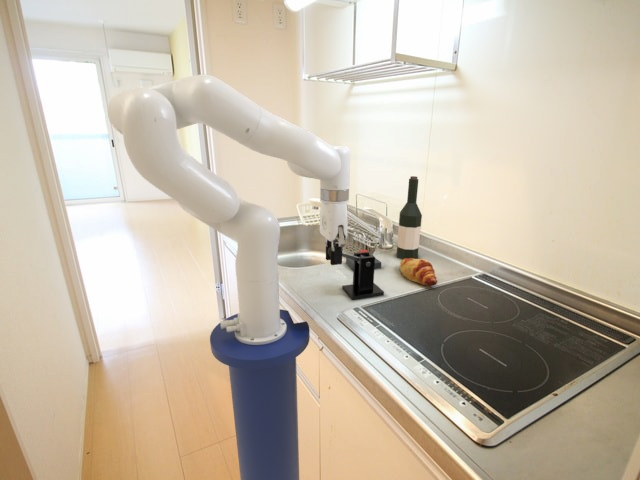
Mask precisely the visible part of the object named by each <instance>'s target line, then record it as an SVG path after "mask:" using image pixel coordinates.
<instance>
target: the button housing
mask: <svg viewBox="0 0 640 480" xmlns="http://www.w3.org/2000/svg"><path fill="white" fill-rule="evenodd" d="M369 256H374V254H373V253H371V252H369ZM345 263H346V265H347V266H348V267H349V268H350V269H351V270H352V271H353V268H354V260H353V259H349V258H346V257H345ZM378 269H382V261H381V260H379V259H377V257H375V266H374V270H378Z"/></svg>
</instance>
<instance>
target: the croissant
mask: <svg viewBox="0 0 640 480" xmlns="http://www.w3.org/2000/svg"><path fill="white" fill-rule="evenodd" d="M399 271H400V272H401V276H402V277H404V278H406V279H407V280H409V281H412V282H414V283H418V284H420V285H423V286H427V287H432V286H436V285H437V284H438V279H437V276H436V273H435V269H434V268H433V264H432V263H431V262H430V261H429V260H426V259H423V258H422V259H421V258H417V259H413V258H409V259H407V258H406V259H401V260H400V264H399Z"/></svg>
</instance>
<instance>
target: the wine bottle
mask: <svg viewBox="0 0 640 480" xmlns="http://www.w3.org/2000/svg"><path fill="white" fill-rule="evenodd" d="M407 187H408V189H407V200H406V203H405V205H403V207H402V209H401V210H400V211H399V217H398V230H397V244H396V258H397V259H399V260H403V259H406V258H407V259H409V258H413V259H419V249H420V238H421V228H422V219H423V214H422V212H421V209H420V208H419V206H418V204H417V199H418V189H419V178H418V176H417V175H416V176H413V175H411V176H410V177H409V178H408V186H407Z"/></svg>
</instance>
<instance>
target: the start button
mask: <svg viewBox="0 0 640 480" xmlns="http://www.w3.org/2000/svg"><path fill="white" fill-rule="evenodd" d="M358 252H369V253H370V251H369V250H367V249H360V250H359V251H358Z"/></svg>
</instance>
